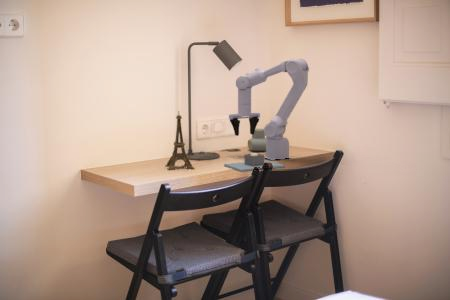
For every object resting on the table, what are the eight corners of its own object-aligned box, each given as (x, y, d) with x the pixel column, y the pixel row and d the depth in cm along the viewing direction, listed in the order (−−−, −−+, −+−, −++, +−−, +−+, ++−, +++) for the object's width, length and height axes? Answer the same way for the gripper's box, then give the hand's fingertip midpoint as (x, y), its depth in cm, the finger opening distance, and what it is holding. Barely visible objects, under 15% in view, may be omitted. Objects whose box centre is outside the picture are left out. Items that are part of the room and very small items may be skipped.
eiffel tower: (167, 170, 263) (166, 106, 259) (165, 165, 273) (163, 104, 270) (194, 169, 265) (193, 106, 261) (190, 164, 276) (190, 103, 272)
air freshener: (246, 149, 315) (246, 128, 313) (263, 148, 316) (263, 127, 315) (253, 153, 304) (253, 131, 302) (270, 152, 306) (270, 130, 304)
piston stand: (266, 161, 281) (266, 149, 280) (284, 167, 269) (285, 154, 268) (224, 166, 272) (224, 153, 271) (241, 171, 260) (241, 158, 259)
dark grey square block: (255, 162, 274) (255, 153, 274) (264, 164, 270) (264, 155, 269) (244, 164, 271) (244, 154, 271) (252, 166, 267) (252, 156, 266)
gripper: (254, 102, 299) (254, 132, 301) (225, 103, 292) (225, 134, 294) (262, 103, 293) (262, 134, 295) (233, 105, 286) (233, 136, 288)
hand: (244, 134), depth 294 cm, fingers open, 7 cm apart
